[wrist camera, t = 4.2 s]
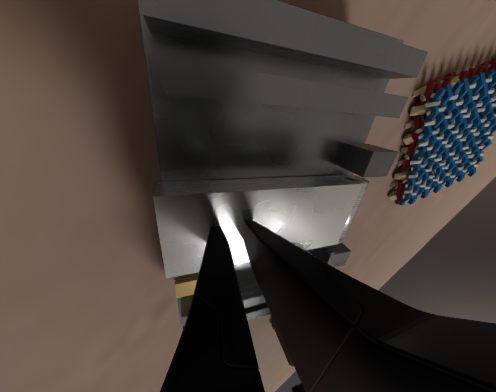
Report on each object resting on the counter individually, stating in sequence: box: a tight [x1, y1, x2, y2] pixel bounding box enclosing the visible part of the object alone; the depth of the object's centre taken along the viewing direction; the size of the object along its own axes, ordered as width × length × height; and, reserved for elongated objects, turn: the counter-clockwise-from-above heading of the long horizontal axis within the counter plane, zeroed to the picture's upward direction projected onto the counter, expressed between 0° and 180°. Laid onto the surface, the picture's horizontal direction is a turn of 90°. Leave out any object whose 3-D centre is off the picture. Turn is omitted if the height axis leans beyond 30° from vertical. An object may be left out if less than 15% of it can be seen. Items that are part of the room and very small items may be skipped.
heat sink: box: [138, 0, 428, 329], centre depth 10 cm, size 10×16×5 cm, turn 174°
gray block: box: [153, 175, 369, 278], centre depth 9 cm, size 10×4×1 cm, turn 84°
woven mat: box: [388, 59, 496, 205], centre depth 16 cm, size 10×11×2 cm
